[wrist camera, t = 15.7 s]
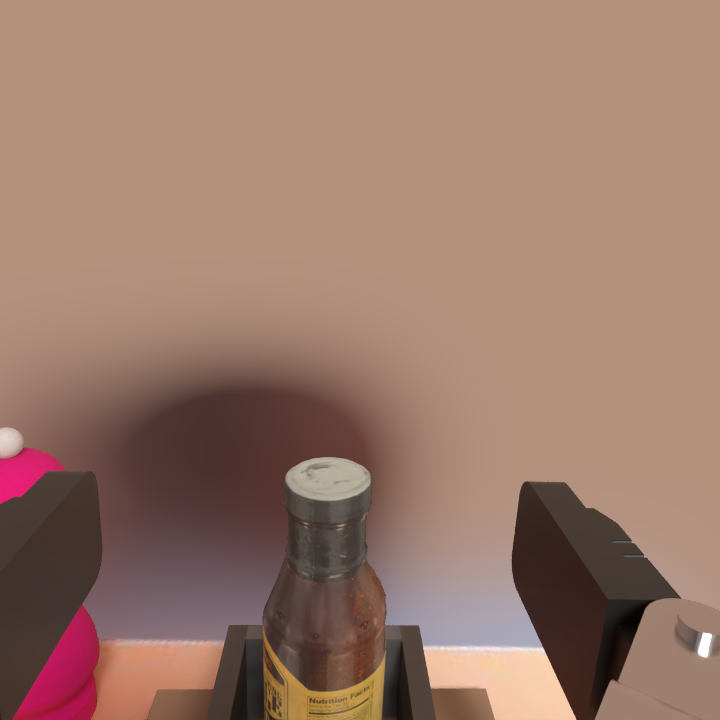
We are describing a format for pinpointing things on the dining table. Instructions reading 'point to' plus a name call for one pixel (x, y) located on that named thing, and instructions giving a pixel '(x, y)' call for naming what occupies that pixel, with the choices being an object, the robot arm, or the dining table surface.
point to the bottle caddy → (246, 685)
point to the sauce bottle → (325, 602)
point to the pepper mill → (80, 642)
